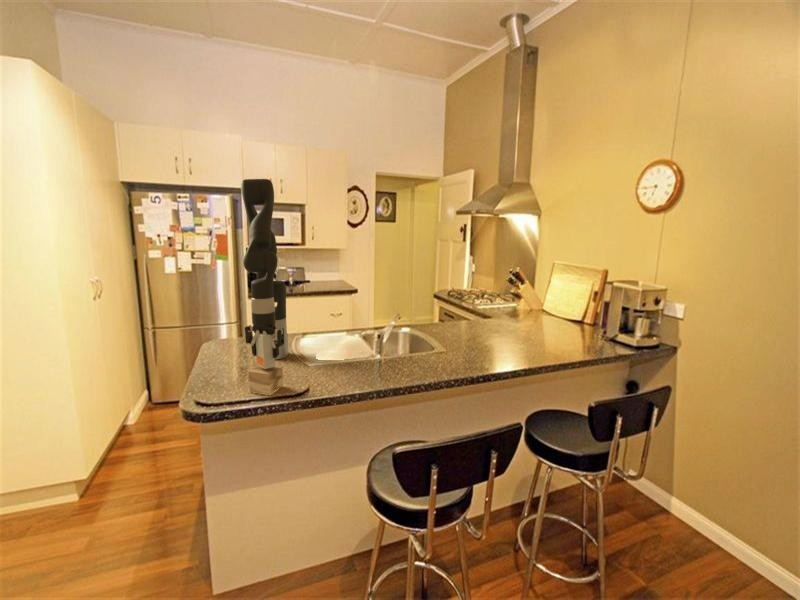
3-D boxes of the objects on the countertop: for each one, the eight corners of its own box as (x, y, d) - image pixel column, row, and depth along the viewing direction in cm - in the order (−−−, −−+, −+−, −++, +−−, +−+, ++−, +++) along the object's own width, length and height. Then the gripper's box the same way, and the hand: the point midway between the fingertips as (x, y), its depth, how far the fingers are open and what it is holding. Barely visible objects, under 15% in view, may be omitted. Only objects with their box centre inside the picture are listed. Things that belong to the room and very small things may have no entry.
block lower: (263, 384, 145) (262, 374, 144) (282, 387, 143) (282, 376, 142) (249, 393, 138) (249, 382, 137) (270, 396, 136) (269, 385, 135)
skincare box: (256, 364, 139) (254, 331, 137) (267, 361, 142) (266, 329, 140) (264, 369, 135) (262, 335, 133) (275, 366, 138) (274, 333, 136)
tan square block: (264, 373, 145) (263, 363, 144) (282, 377, 142) (282, 366, 142) (249, 382, 137) (248, 371, 137) (268, 385, 135) (267, 374, 134)
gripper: (288, 309, 137) (289, 355, 140) (251, 306, 140) (253, 350, 143) (276, 314, 129) (278, 362, 133) (237, 311, 133) (240, 357, 136)
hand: (265, 356), depth 138 cm, fingers closed on skincare box, 7 cm apart
